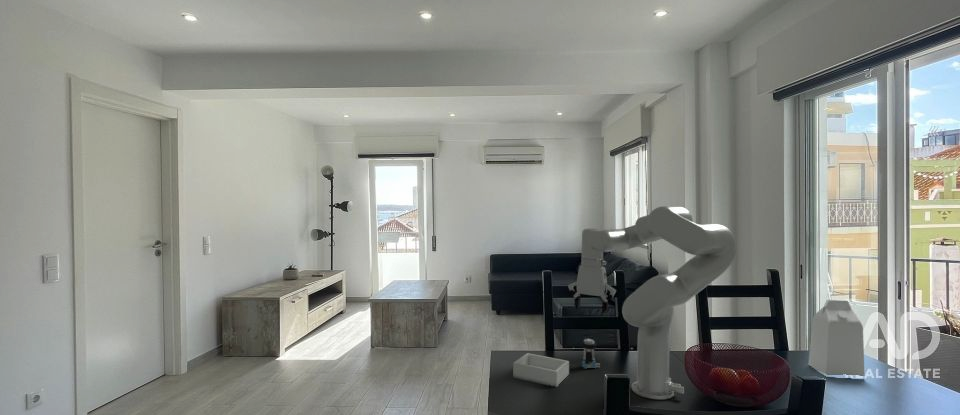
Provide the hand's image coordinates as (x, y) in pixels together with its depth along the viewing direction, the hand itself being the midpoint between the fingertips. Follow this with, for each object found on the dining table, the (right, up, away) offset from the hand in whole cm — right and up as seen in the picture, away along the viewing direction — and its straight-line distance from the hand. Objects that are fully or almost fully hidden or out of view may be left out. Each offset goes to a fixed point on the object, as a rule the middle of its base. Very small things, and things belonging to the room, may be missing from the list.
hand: (590, 310), depth 167 cm
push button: (0, -21, 0) cm, 21 cm away
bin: (-19, -21, -8) cm, 29 cm away
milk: (+87, -22, -2) cm, 90 cm away
